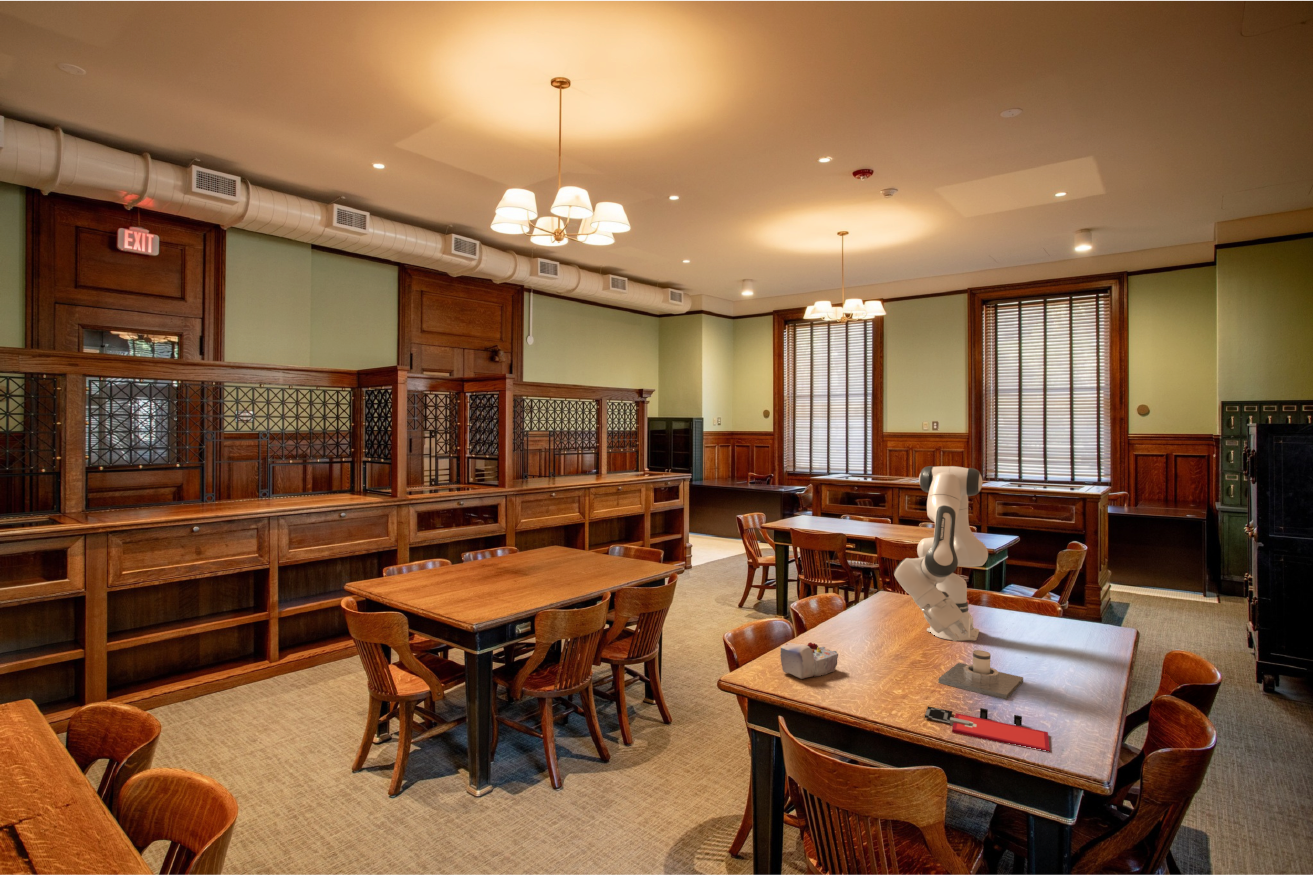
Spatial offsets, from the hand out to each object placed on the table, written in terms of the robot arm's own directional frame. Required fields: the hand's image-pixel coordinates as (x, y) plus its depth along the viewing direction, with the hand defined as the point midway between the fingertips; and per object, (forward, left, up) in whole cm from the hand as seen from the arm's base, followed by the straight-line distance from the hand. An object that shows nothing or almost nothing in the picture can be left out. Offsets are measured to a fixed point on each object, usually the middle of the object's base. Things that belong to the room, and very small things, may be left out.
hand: (961, 636), depth 217 cm
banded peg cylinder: (0, +6, -12) cm, 13 cm away
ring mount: (0, +6, -13) cm, 15 cm away
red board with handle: (+35, +17, -14) cm, 42 cm away
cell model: (+30, -39, -14) cm, 51 cm away
